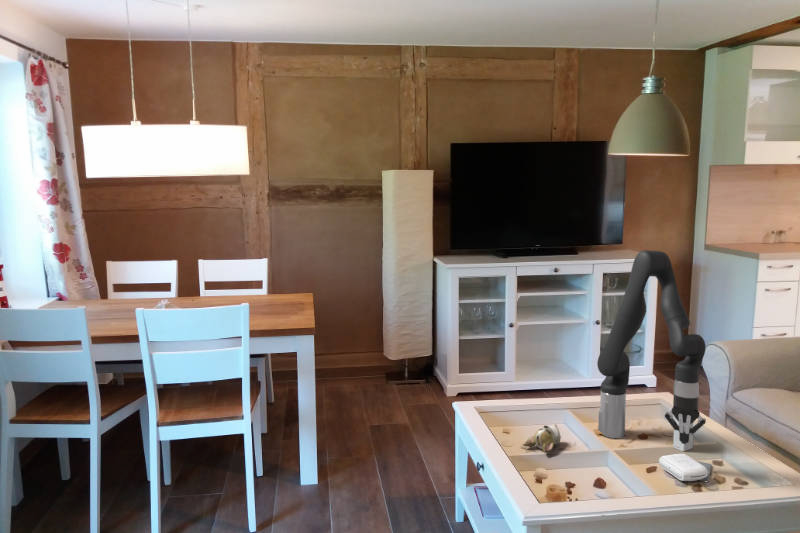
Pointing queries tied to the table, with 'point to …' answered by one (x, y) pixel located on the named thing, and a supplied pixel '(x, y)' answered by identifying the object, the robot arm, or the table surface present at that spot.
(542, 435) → the ceramic sculpture
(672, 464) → the photo printer
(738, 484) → the table surface
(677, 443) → the skincare box
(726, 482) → the table surface
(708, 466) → the mat
